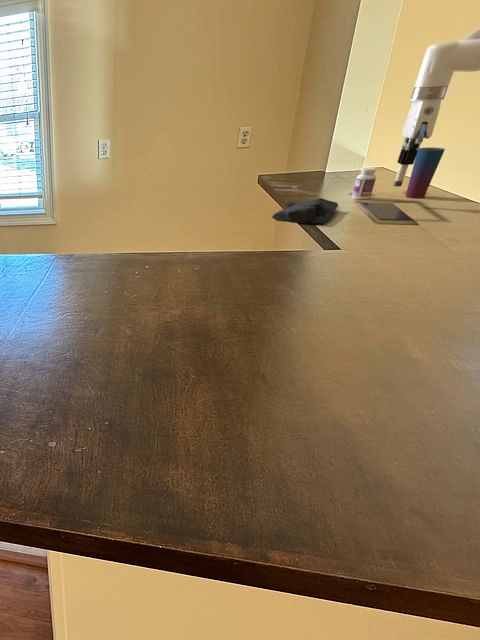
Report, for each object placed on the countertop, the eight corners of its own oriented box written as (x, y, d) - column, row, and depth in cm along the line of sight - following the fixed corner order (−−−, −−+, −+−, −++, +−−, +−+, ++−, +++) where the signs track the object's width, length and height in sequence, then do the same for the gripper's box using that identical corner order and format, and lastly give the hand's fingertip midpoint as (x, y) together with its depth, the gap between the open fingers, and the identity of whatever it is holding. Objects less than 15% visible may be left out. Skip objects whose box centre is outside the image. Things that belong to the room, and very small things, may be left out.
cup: (431, 196, 161) (448, 148, 153) (422, 199, 158) (440, 150, 150) (406, 193, 166) (422, 147, 158) (398, 197, 163) (414, 149, 155)
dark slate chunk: (345, 211, 152) (350, 195, 150) (323, 226, 139) (328, 210, 137) (293, 206, 162) (296, 191, 159) (268, 220, 149) (271, 204, 147)
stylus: (400, 185, 148) (414, 143, 142) (402, 186, 146) (416, 143, 140) (392, 185, 148) (406, 143, 142) (394, 186, 147) (408, 144, 141)
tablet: (416, 205, 152) (418, 202, 151) (444, 225, 133) (446, 221, 132) (357, 205, 157) (358, 201, 157) (375, 223, 138) (376, 219, 138)
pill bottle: (371, 197, 165) (380, 167, 160) (368, 200, 162) (377, 170, 157) (352, 196, 168) (361, 166, 164) (349, 199, 165) (358, 169, 160)
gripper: (456, 94, 127) (429, 168, 136) (435, 92, 140) (411, 159, 149) (421, 96, 130) (397, 168, 139) (403, 94, 143) (383, 160, 152)
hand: (405, 163), depth 144 cm, fingers closed on stylus, 2 cm apart
